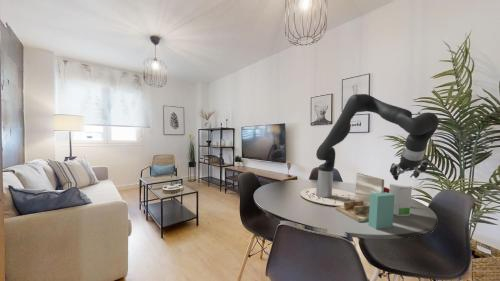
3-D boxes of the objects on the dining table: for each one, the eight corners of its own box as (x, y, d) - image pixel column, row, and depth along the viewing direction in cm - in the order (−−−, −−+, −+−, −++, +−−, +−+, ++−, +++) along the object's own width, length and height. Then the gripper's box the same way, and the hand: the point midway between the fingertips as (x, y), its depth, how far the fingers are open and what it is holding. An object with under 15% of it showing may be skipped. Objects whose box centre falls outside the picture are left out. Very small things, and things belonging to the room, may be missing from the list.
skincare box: (397, 216, 107) (399, 187, 107) (386, 211, 114) (388, 183, 113) (410, 215, 109) (412, 186, 108) (399, 210, 116) (401, 183, 115)
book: (375, 229, 92) (377, 196, 92) (368, 225, 96) (370, 193, 95) (392, 226, 95) (394, 194, 95) (384, 222, 99) (386, 192, 98)
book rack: (358, 221, 99) (360, 181, 98) (335, 209, 115) (337, 173, 114) (381, 218, 104) (384, 179, 103) (356, 207, 119) (358, 173, 118)
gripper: (425, 145, 92) (417, 169, 102) (390, 150, 94) (385, 173, 104) (436, 157, 86) (426, 181, 96) (399, 162, 89) (392, 185, 99)
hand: (405, 177), depth 100 cm, fingers open, 8 cm apart
